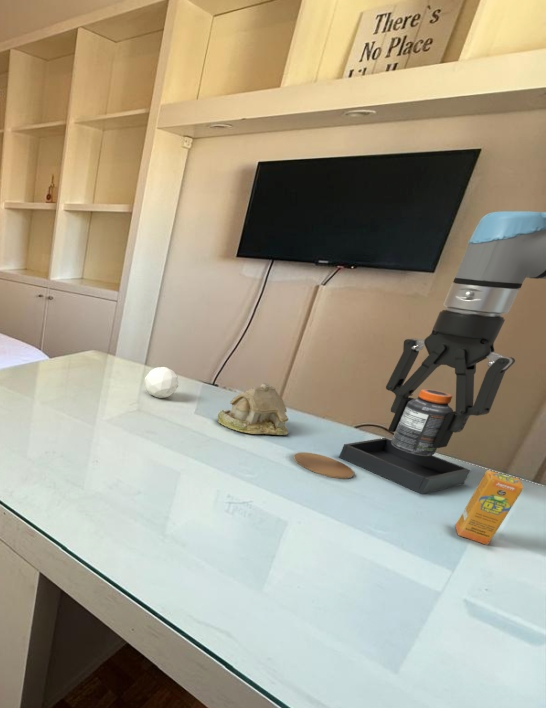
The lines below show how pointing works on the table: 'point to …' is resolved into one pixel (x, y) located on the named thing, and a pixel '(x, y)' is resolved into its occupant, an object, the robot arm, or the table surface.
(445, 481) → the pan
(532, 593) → the table surface
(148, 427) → the table surface
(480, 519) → the supplement box
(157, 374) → the geometric ball
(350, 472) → the coaster
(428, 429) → the pill bottle
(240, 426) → the ceramic model
